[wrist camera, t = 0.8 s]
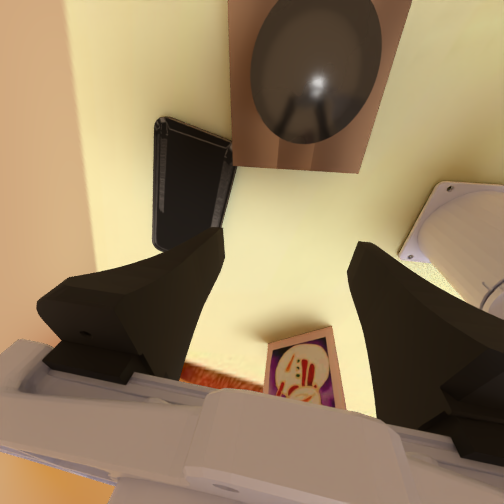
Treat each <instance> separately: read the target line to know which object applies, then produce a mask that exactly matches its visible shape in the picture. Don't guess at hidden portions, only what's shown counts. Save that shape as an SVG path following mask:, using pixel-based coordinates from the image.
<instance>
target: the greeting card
mask: <svg viewBox="0 0 504 504" xmlns="http://www.w3.org/2000/svg"><path fill="white" fill-rule="evenodd" d="M263 393H264V394H269V395H274V396H279V397H284V398H289V399H294V400H299V401H304V402H308V403H313V404H318V405H323V406H328V407H333V408H338V409H343V410H346V404H345V398H344V393H343V387H342V381H341V375H340V369H339V364H338V358H337V352H336V346H335V341H334V335H333V329H332V326H330V327H327V328H323V329H319V330H316V331H312V332H309V333H305V334H301V335H298V336H294V337H290V338H287V339H283V340H279V341H276V342H272V343H269V344H268V352H267V361H266V370H265V379H264V388H263Z"/></svg>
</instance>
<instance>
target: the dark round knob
mask: <svg viewBox="0 0 504 504" xmlns="http://www.w3.org/2000/svg"><path fill="white" fill-rule="evenodd" d="M381 53H382V35H381V27H380V22H379V18H378V15H377V12H376V10H375V7H374V5H373V3H372V1H371V0H278V1H277V3H276V4H275V5H274V6H273V8H272V9H271V10H270V12H269V14H268V15H267V17H266V18H265V20H264V22H263V24H262V26H261V28H260V30H259V33H258V36H257V39H256V41H255V45H254V49H253V53H252V59H251V69H250V83H251V91H252V96H253V100H254V104H255V107H256V109H257V112H258V114H259V116H260V118H261V119H262V121H263V122H264V124H265V125H266V126H267V127H268V128H269V130H270V131H272V132H273V133H274V134H275V135H276V136H278V137H280V138H281V139H283V140H285V141H288V142H291V143H295V144H312V143H317V142H320V141H323V140H326V139H328V138H330V137H332V136H333V135H335V134H337V133H338V132H340V131H341V130H342V129H344V128H345V127H346V126H347V125H348V124H349V123H350V122H351V121H352V120H353V119H354V118H355V117H356V115H357V114H358V113H359V112H360V110H361V109H362V107H363V106H364V104H365V102H366V101H367V99H368V97H369V95H370V93H371V91H372V89H373V86H374V84H375V81H376V78H377V75H378V71H379V66H380V61H381Z"/></svg>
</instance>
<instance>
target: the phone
mask: <svg viewBox="0 0 504 504" xmlns="http://www.w3.org/2000/svg"><path fill="white" fill-rule="evenodd" d="M236 169H237V166H233V152H232V141H231V140H228V139H226V138H223V137H221V136H218V135H215V134H213V133H210V132H208V131H205V130H203V129H200V128H198V127H195V126H192V125H190V124H187V123H185V122H182V121H180V120H177V119H174V118H172V117H161V118H159V119H158V120H157V121H156V122H155V125H154V164H153V223H152V243H153V245H154V247H155V248H156V249H158V250H160V251H162V252H165V251H168V250H170V249H172V248H174V247H176V246H178V245H180V244H182V243H184V242H186V241H187V240H189V239H191V238H193V237H194V236H196V235H198V234H200V233H201V232H203V231H205V230H207V229H208V228H211V227H222V223H223V219H224V215H225V212H226V208H227V204H228V200H229V196H230V192H231V189H232V185H233V181H234V177H235V173H236Z"/></svg>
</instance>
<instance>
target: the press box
mask: <svg viewBox="0 0 504 504" xmlns="http://www.w3.org/2000/svg"><path fill="white" fill-rule="evenodd" d="M277 1H278V0H228V22H229V54H230V87H231V119H232V152H233V166H244V167H260V168H276V169H292V170H308V171H324V172H340V173H356V174H358V173H359V170H360V167H361V164H362V160H363V157H364V154H365V151H366V147H367V144H368V141H369V138H370V135H371V131H372V128H373V125H374V122H375V118H376V115H377V112H378V109H379V106H380V102H381V99H382V96H383V93H384V89H385V86H386V83H387V80H388V77H389V73H390V70H391V67H392V64H393V60H394V57H395V54H396V51H397V48H398V44H399V41H400V38H401V35H402V31H403V28H404V25H405V22H406V19H407V15H408V12H409V9H410V6H411V2H412V0H371V1H372V3H373V5H374V7H375V10H376V12H377V15H378V18H379V22H380V27H381V35H382V53H381V61H380V66H379V71H378V75H377V78H376V81H375V84H374V86H373V89H372V91H371V93H370V95H369V97H368V99H367V101H366V102H365V104H364V106H363V107H362V109H361V110H360V112H359V113H358V114H357V115H356V117H355V118H354V119H353V120H352V121H351V122H350V123H349V124H348V125H347V126H346V127H345V128H344V129H342V130H341V131H340V132H338V133H337V134H335V135H333V136H332V137H330V138H328V139H326V140H323V141H320V142H317V143H312V144H295V143H291V142H288V141H285V140H283V139H281V138H280V137H278V136H276V135H275V134H274V133H273V132H272V131H270V130H269V128H268V127H267V126H266V125H265V124H264V122H263V121H262V119H261V118H260V116H259V114H258V112H257V109H256V107H255V104H254V100H253V96H252V91H251V83H250V69H251V59H252V53H253V49H254V45H255V41H256V39H257V36H258V33H259V30H260V28H261V26H262V24H263V22H264V20H265V18H266V17H267V15H268V14H269V12H270V10H271V9H272V8H273V6H274V5H275V4H276V3H277Z"/></svg>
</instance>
